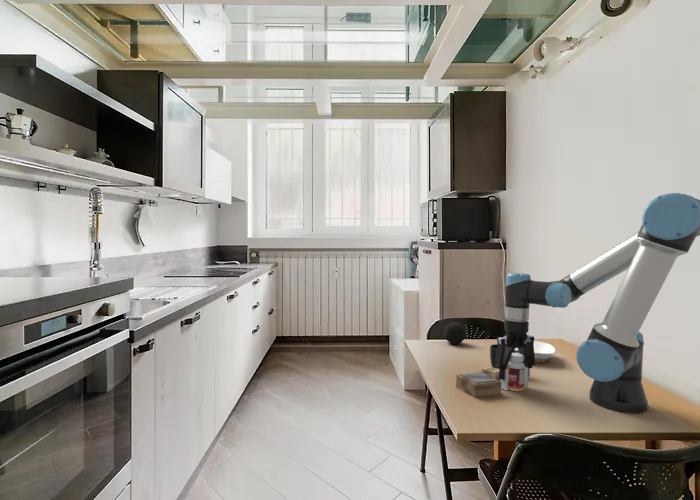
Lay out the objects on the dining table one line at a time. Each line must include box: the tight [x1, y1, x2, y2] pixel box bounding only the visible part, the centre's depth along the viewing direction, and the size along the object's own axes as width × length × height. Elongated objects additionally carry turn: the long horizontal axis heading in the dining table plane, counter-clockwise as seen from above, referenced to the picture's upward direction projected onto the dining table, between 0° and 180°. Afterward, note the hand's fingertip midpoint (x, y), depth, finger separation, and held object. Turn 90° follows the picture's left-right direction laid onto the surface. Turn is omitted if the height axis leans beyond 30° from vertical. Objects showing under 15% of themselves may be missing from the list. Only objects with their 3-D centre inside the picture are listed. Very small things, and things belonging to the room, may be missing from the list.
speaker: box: [443, 321, 467, 345], centre depth 200 cm, size 10×10×10 cm
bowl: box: [515, 340, 557, 364], centre depth 179 cm, size 22×22×5 cm
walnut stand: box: [455, 371, 502, 398], centre depth 138 cm, size 10×10×4 cm
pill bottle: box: [506, 353, 525, 392], centre depth 141 cm, size 6×6×11 cm
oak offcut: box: [481, 366, 500, 380], centre depth 151 cm, size 5×5×3 cm
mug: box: [489, 344, 519, 369], centre depth 157 cm, size 8×12×10 cm
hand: (514, 387), depth 141 cm, fingers open, 8 cm apart
